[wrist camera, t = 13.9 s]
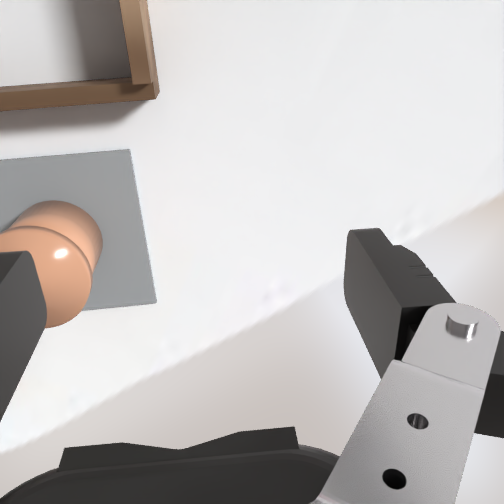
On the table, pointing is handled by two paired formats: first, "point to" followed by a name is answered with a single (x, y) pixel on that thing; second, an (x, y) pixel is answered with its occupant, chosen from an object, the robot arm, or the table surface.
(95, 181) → the gray square base plate
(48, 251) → the peach round knob
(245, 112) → the table surface
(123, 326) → the table surface
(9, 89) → the frame
